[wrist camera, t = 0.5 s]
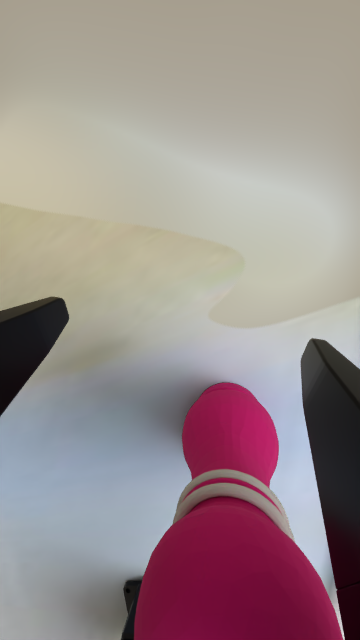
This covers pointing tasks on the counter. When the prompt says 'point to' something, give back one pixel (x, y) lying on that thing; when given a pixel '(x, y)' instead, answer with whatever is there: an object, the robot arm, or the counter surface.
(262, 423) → the pepper mill
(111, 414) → the counter surface
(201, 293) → the counter surface
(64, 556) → the counter surface
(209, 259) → the counter surface
